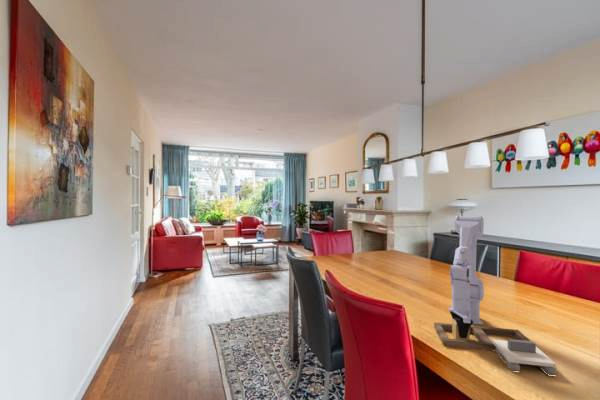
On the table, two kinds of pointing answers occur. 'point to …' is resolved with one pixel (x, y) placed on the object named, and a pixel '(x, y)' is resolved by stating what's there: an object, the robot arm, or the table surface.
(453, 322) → the ochre block
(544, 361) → the slide cover
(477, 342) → the brown flat frame
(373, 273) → the table surface
